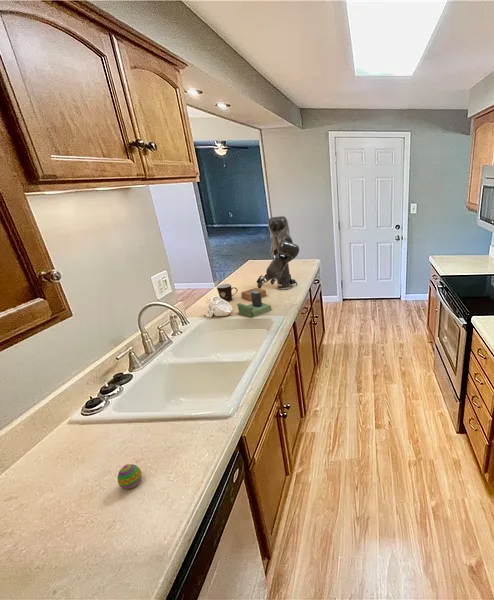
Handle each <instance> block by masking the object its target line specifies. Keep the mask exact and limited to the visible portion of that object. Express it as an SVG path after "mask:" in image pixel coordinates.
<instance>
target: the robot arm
mask: <svg viewBox="0 0 494 600" xmlns="http://www.w3.org/2000/svg"><path fill="white" fill-rule="evenodd" d="M267 227H268V230H269V241H270V251H271V255H272V256H274V258H273V259H272V260H271V262H270V264H269V265H268V266H267V268H266V270H265V271H266V272H265V275H259V277H258V278H257V280H256V283H257V285H256V286H257V288H259V289H262V287H263V286H264V284H267V283H270V284H271V285H274V284H275V283H277V289H278V290H280V291H281V290H282V291H285V290H290V289H291V288H293V285H296V286H298V282H297V281H296V279H293V278H292V274H290V273H291V272H290V265H289V264H290V262H291V261H293V260H294V259H296V258H297V257H298V255H299V254H300V247H299V245H298V244H296V243H294V242H293V239H292V235H291V229H290V225H289V220H288V219H287V217H286V216H285V215H284V216H283V215H282V216H273V217H272V216H271V217H269V218H268V220H267Z"/></svg>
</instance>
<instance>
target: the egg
mask: <svg viewBox="0 0 494 600" xmlns="http://www.w3.org/2000/svg"><path fill="white" fill-rule="evenodd" d="M142 477H143V473H142V469H141V468H140V467H139V466H138V465H137V464H133V463H127V464H125V465H123V466H122V467H121V468H120V469H119V471H118V474H117V483H118V485H119V487H121V488H122V489H124V490H130V489H133V488H135V487H137V486H138V485H139V484H140V483H141V480H142Z"/></svg>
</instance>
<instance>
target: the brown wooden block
mask: <svg viewBox="0 0 494 600" xmlns="http://www.w3.org/2000/svg"><path fill="white" fill-rule="evenodd" d="M252 291H259V292H260V294H261V298H264V297H266V296H267V290H266V289H262V288H258V287H254V288H251V289H248V290H245V291H241V293H240V294H241V298H242V299H244V300H247V301H249V302H252V297H251V292H252Z"/></svg>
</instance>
